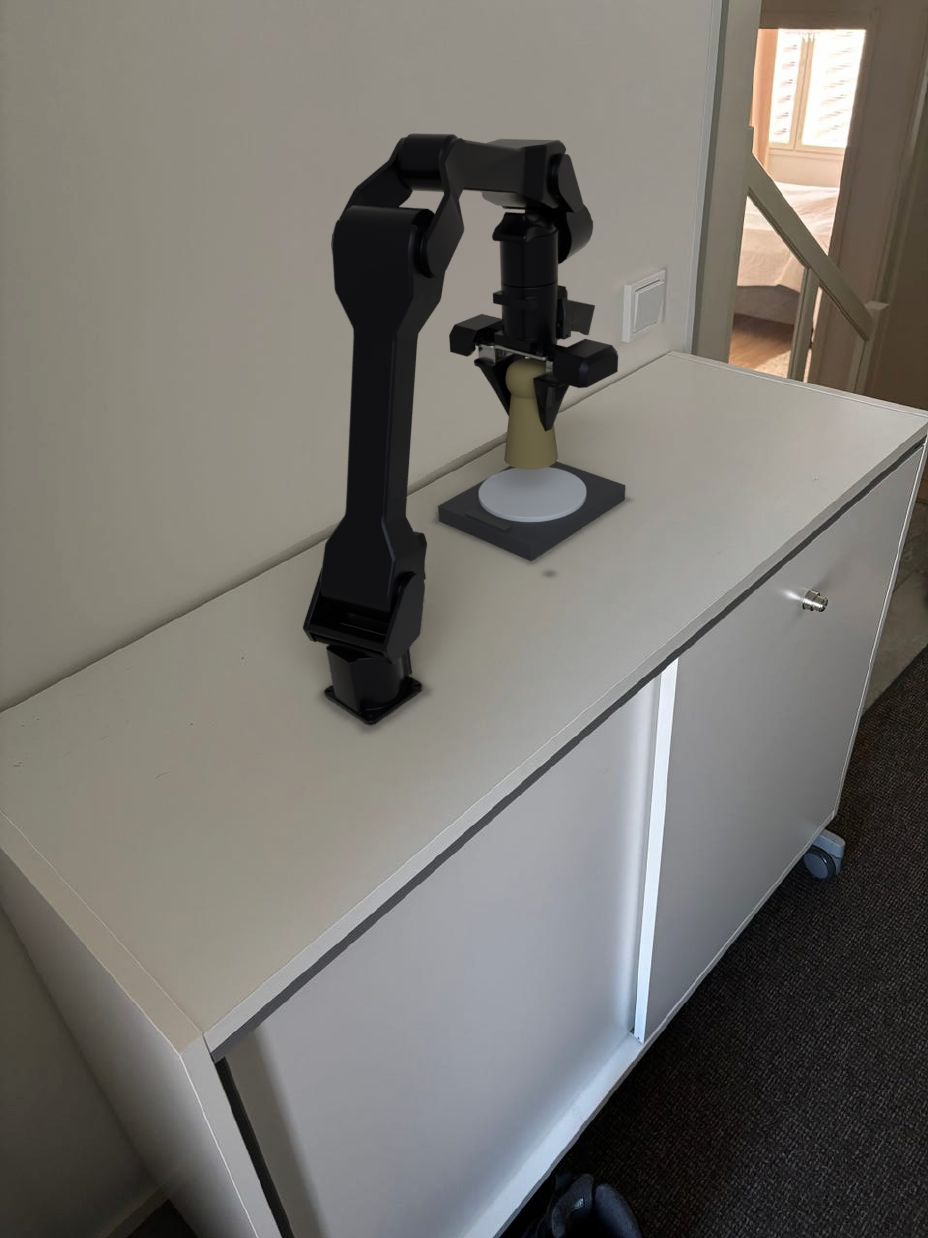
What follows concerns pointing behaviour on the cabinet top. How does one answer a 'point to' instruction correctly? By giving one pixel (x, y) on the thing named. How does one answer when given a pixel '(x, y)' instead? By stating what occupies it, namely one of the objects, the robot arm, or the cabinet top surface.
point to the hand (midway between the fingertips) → (531, 425)
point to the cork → (527, 420)
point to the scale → (531, 507)
